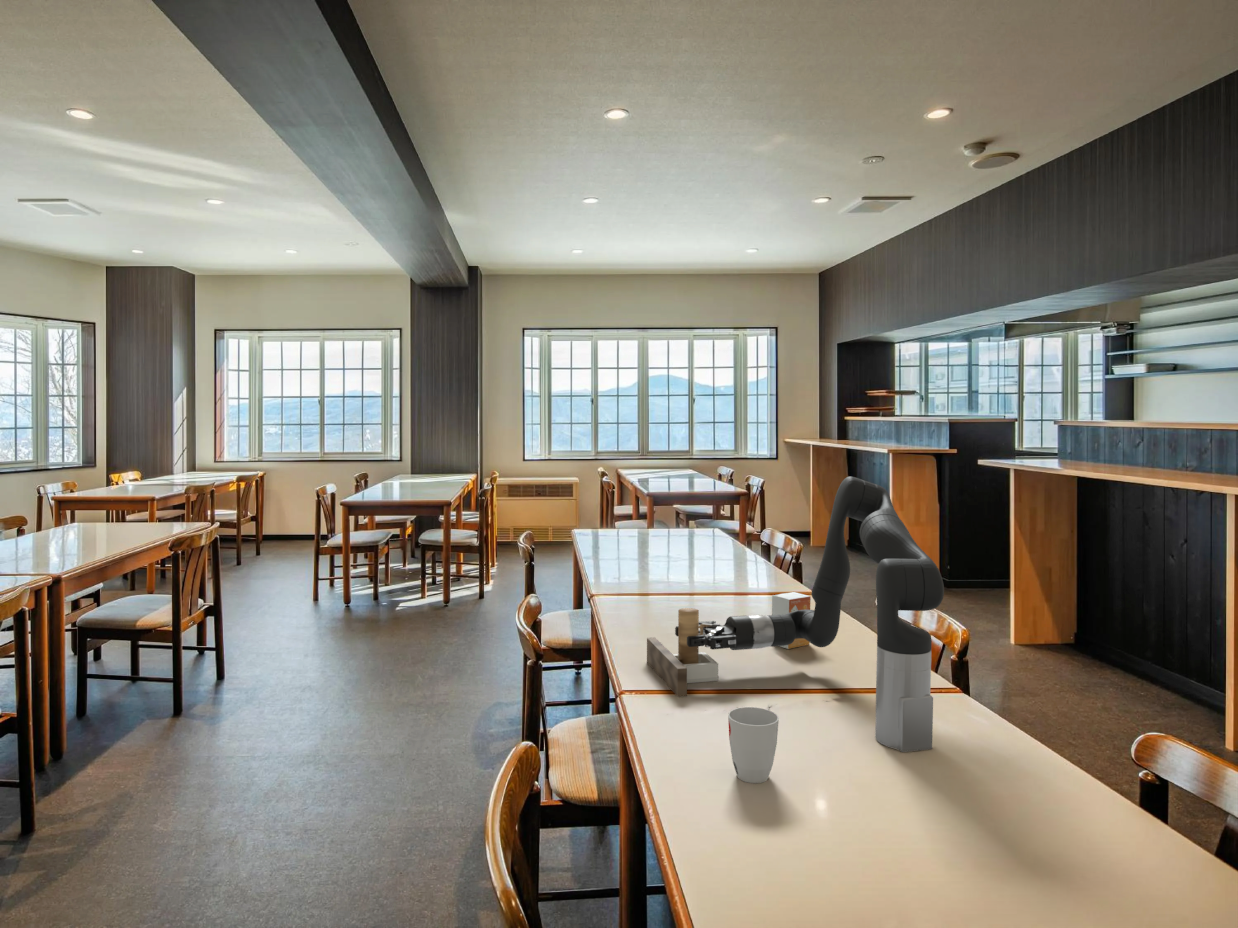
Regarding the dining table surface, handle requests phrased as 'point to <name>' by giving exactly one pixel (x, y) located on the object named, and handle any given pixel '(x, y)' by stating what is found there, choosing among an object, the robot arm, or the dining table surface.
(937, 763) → the dining table surface
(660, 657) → the board
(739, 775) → the cup
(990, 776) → the dining table surface
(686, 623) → the oak dowel
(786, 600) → the small box
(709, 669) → the white square tray
